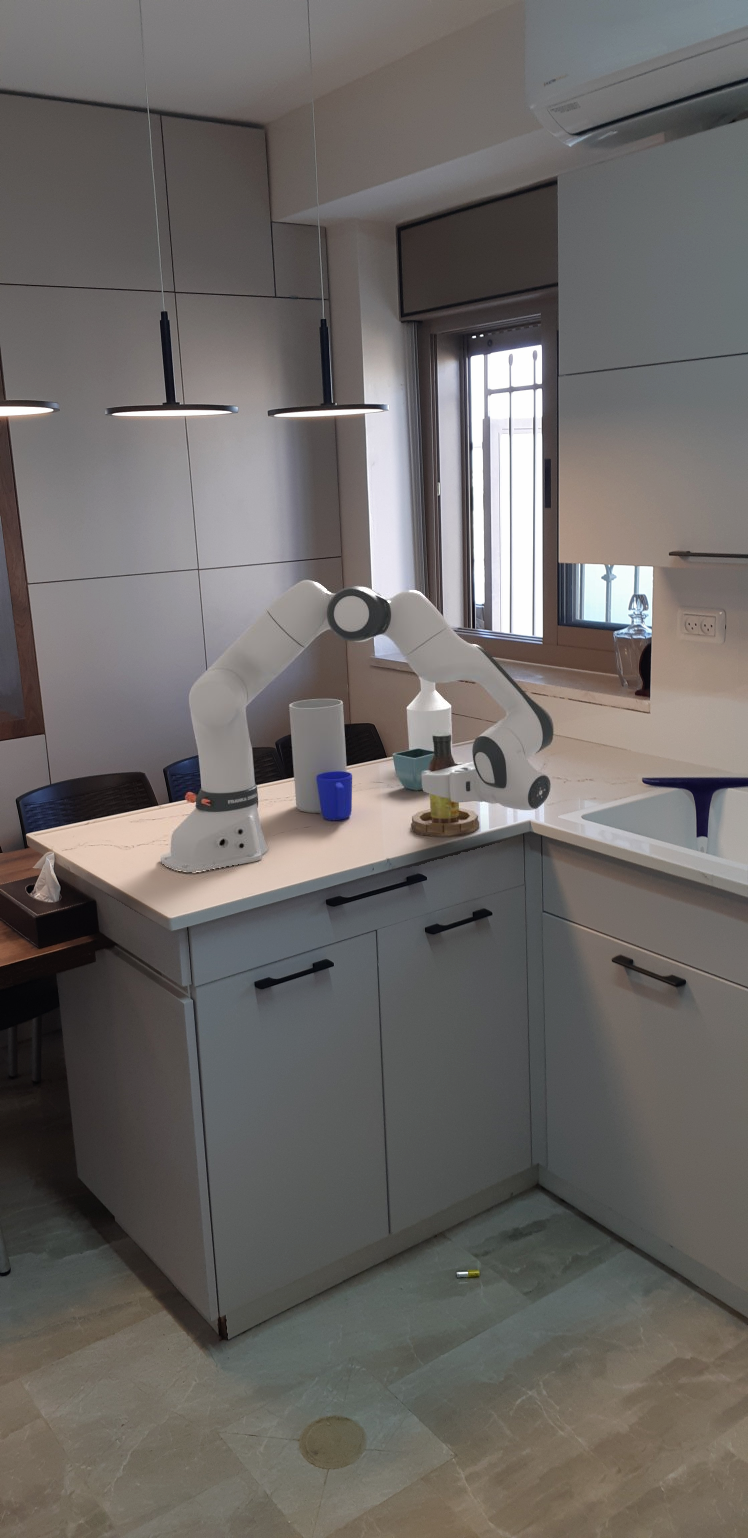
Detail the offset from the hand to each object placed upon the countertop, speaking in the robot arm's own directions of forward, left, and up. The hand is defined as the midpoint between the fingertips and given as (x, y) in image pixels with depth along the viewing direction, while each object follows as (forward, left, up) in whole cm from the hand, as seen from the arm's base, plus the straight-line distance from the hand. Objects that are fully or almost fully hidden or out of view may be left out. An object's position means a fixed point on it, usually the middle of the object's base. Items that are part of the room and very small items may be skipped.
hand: (440, 770), depth 252 cm
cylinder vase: (-8, +34, -13) cm, 37 cm away
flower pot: (+19, +30, -13) cm, 38 cm away
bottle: (+37, +45, -13) cm, 60 cm away
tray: (0, -1, -13) cm, 13 cm away
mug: (-12, +22, -13) cm, 28 cm away
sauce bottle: (0, -1, -12) cm, 12 cm away
